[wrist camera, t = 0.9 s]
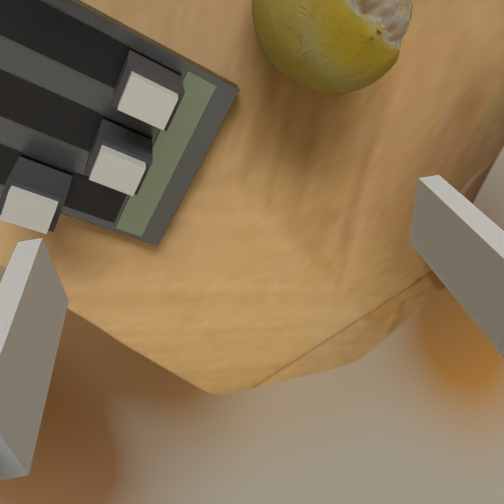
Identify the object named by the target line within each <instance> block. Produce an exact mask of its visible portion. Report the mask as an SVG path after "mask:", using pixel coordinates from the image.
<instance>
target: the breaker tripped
mask: <svg viewBox="0 0 504 504" xmlns="http://www.w3.org/2000/svg"><path fill="white" fill-rule="evenodd" d="M72 177H73V176H71V175H68V174H66V173H63V172H60V171H58V170H55V169H52V168H50V167H47V166H44V165H42V164H39V163H36V162H34V161H31V160H28V159H26V158H23V157H19V158H18V160H17V162H16V164H15V166H14V167H13V169H12V171H11V173H10V175H9V176H8V178H7V180H6V184H5V187H4V190H3V193H2V197H1V200H0V215H1V217H0V220H2V221H6V222H9V223H12V224H15V225H18V226H22V227H25V228H28V229H31V230H34V231H37V232H41V233H44V234H47V232H48V230H49V231H52V232H53V231H54V229H55V226H56V223H57V221H58V218H59V216H60V213H61V210H62V208H63V205H64V203H65V200H66V197H67V193H68V190H69V187H70V183H71V180H72Z"/></svg>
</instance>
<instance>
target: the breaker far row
mask: <svg viewBox="0 0 504 504" xmlns="http://www.w3.org/2000/svg"><path fill="white" fill-rule="evenodd" d="M184 94H185V90H184V85H183V80H182V76H180V75H178V74H176V73H174V72H172V71H170V70H168V69H166V68H164V67H162V66H160V65H158V64H156V63H155V62H153V61H151V60H149V59H147V58H145V57H143V56H141V55H139V54H137V53H135V52H133V51H131V50H129V52H128V55H127V57H126V60H125V62H124V65H123V68H122V70H121V73H120V75H119V78H118V80H117V83H116V85H115V88H114V92H113V97H112V102H111V106H112V107H114V108H116V109H117V110H119V111H121V112H124V113H126V114H128V115H130V116H133V117H135V118H137V119H139V120H141V121H144V122H146V123H148V124H150V125H152V126H155V127H157V128H159V129H161V130H163V131H164V130H165V131H167V130H168V128H169V126H170V124H171V122H172V119H173V117H174V115H175V113H176V111H177V109H178V107H179V104H180V102H181V100H182V98H183V96H184Z"/></svg>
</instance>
